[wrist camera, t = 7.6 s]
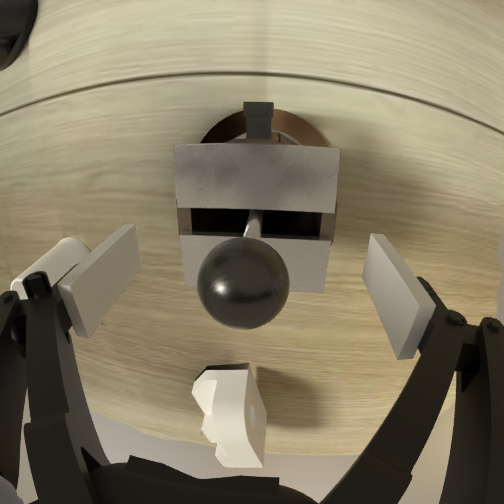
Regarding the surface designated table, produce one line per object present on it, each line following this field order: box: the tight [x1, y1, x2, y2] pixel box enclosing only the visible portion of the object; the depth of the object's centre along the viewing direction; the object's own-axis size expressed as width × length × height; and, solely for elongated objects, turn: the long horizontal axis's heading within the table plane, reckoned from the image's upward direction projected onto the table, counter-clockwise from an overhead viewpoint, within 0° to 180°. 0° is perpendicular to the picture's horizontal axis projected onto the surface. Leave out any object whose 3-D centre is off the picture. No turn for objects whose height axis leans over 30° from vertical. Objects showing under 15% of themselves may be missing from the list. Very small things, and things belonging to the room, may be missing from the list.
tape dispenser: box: [192, 363, 267, 468], centre depth 43 cm, size 16×10×13 cm, turn 12°
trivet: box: [200, 109, 328, 147], centre depth 31 cm, size 16×16×1 cm
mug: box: [11, 237, 91, 300], centre depth 33 cm, size 12×8×12 cm
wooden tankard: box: [174, 102, 340, 293], centre depth 25 cm, size 14×12×13 cm
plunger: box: [197, 209, 290, 330], centre depth 20 cm, size 7×7×21 cm
